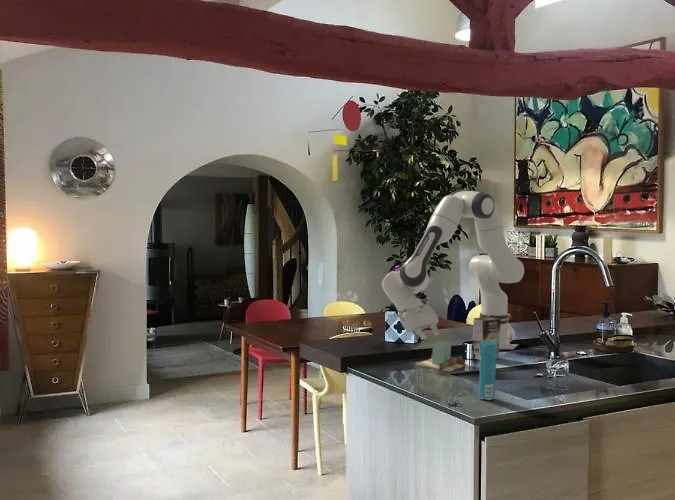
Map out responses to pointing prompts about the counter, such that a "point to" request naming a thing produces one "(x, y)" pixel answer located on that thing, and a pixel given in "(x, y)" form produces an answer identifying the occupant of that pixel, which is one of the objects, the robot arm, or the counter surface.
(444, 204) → the robot arm
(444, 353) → the block
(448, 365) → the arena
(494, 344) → the tube
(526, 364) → the counter surface
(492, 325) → the coffee box
